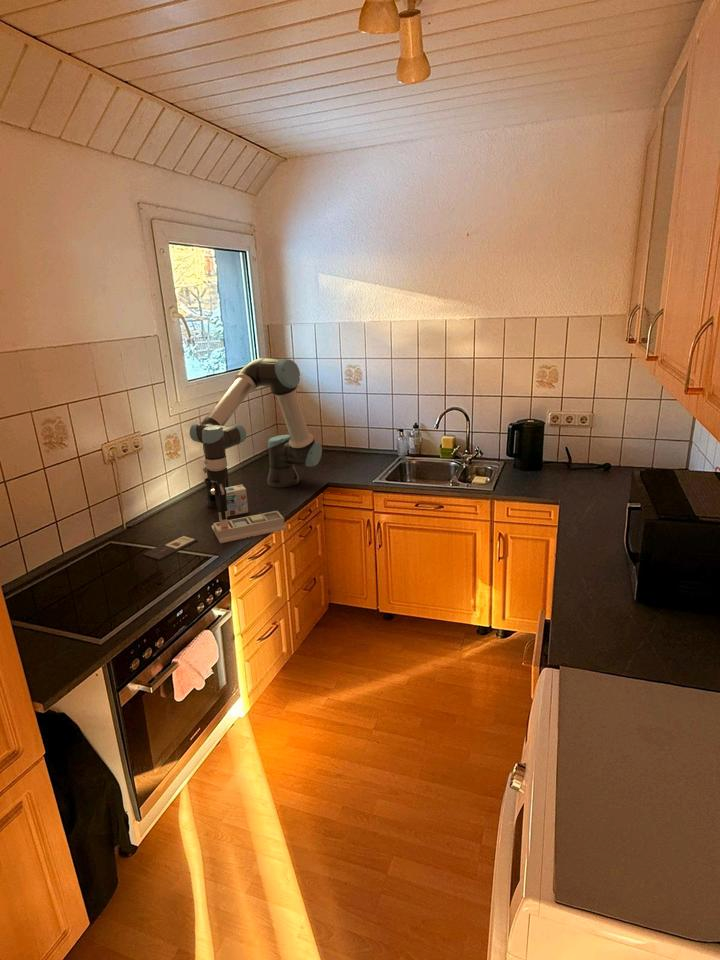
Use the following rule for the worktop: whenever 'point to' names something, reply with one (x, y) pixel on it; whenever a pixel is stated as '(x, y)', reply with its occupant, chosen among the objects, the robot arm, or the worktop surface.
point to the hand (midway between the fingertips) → (224, 526)
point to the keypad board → (249, 527)
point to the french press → (212, 491)
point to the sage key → (256, 519)
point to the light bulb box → (236, 500)
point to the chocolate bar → (169, 548)
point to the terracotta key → (224, 527)
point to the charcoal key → (272, 517)
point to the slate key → (240, 523)
